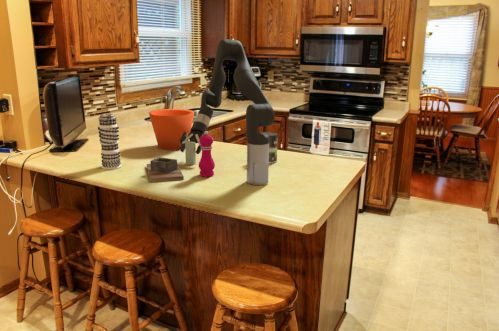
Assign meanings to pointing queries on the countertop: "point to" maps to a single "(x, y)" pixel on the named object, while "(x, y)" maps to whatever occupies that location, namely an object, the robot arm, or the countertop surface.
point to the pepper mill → (206, 156)
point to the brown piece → (164, 170)
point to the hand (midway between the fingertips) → (189, 152)
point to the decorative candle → (109, 141)
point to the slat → (190, 152)
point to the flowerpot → (171, 126)
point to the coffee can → (272, 146)
